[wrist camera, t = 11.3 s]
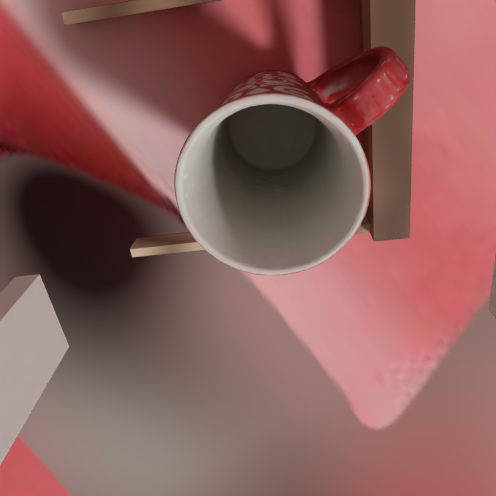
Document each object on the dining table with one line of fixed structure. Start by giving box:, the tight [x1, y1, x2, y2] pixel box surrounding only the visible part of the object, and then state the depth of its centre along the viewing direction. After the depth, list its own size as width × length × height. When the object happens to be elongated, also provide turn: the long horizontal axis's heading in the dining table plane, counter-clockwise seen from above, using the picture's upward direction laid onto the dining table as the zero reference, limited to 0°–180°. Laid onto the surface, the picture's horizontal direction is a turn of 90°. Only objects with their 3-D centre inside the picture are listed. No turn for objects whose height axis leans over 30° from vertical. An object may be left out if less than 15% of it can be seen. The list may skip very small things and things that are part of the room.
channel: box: [61, 0, 415, 257], centre depth 32 cm, size 21×17×4 cm
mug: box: [174, 46, 410, 275], centre depth 27 cm, size 13×9×14 cm
